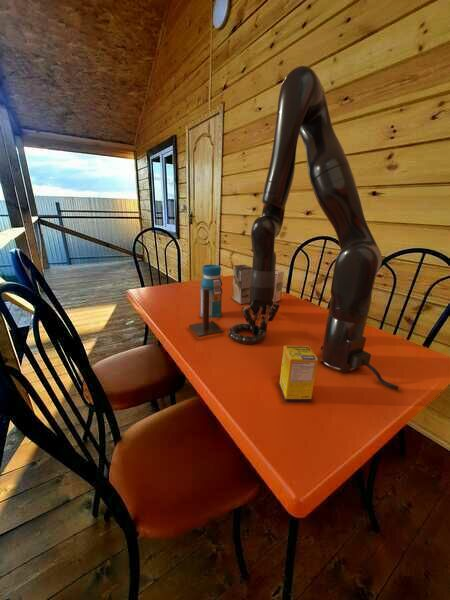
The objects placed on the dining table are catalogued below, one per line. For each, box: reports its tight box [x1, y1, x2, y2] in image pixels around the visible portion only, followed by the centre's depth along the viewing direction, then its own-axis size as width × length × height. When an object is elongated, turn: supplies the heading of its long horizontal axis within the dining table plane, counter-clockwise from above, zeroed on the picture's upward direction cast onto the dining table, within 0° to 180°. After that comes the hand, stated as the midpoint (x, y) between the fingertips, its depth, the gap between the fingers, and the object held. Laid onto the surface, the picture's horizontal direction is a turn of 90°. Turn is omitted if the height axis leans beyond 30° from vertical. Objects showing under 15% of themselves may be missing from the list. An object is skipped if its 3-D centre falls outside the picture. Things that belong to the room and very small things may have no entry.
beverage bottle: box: [199, 264, 223, 319], centre depth 97 cm, size 8×8×20 cm
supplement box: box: [278, 345, 319, 402], centre depth 57 cm, size 6×6×11 cm
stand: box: [188, 288, 224, 338], centre depth 84 cm, size 9×9×16 cm
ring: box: [228, 323, 267, 345], centre depth 82 cm, size 12×12×2 cm
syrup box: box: [272, 268, 285, 303], centre depth 119 cm, size 6×6×14 cm
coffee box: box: [231, 264, 252, 305], centre depth 117 cm, size 9×6×16 cm
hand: (258, 333), depth 84 cm, fingers closed on ring, 2 cm apart
